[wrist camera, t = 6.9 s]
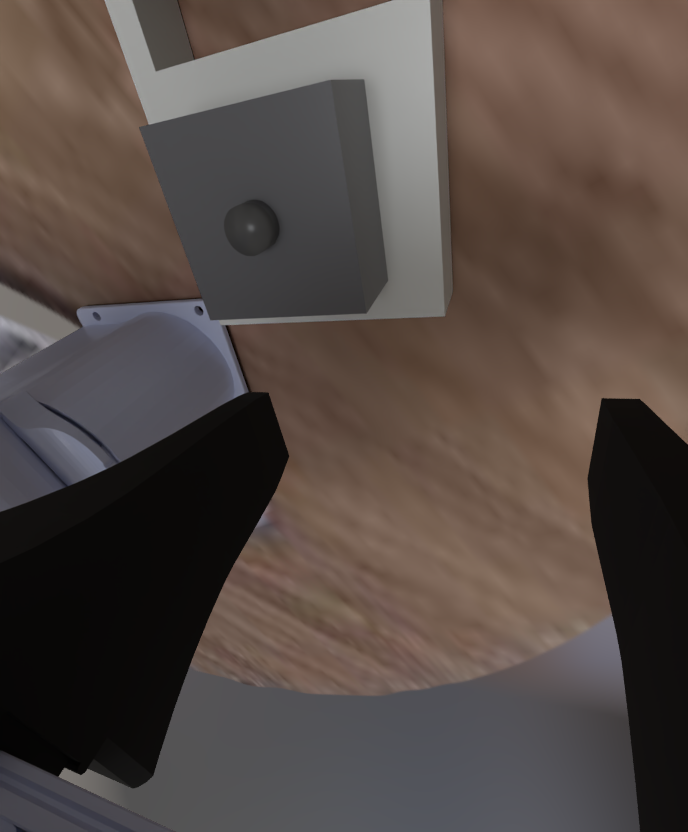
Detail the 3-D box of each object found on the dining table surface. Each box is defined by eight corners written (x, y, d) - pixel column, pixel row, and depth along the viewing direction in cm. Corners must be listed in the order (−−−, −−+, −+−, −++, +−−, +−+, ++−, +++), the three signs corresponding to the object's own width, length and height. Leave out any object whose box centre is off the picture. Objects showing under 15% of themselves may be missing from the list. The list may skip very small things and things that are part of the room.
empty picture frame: (246, 303, 22) (169, 367, 17) (45, -342, 12) (-282, -629, 7) (453, 291, 18) (428, 367, 13) (419, -646, 8) (275, -1654, 3)
